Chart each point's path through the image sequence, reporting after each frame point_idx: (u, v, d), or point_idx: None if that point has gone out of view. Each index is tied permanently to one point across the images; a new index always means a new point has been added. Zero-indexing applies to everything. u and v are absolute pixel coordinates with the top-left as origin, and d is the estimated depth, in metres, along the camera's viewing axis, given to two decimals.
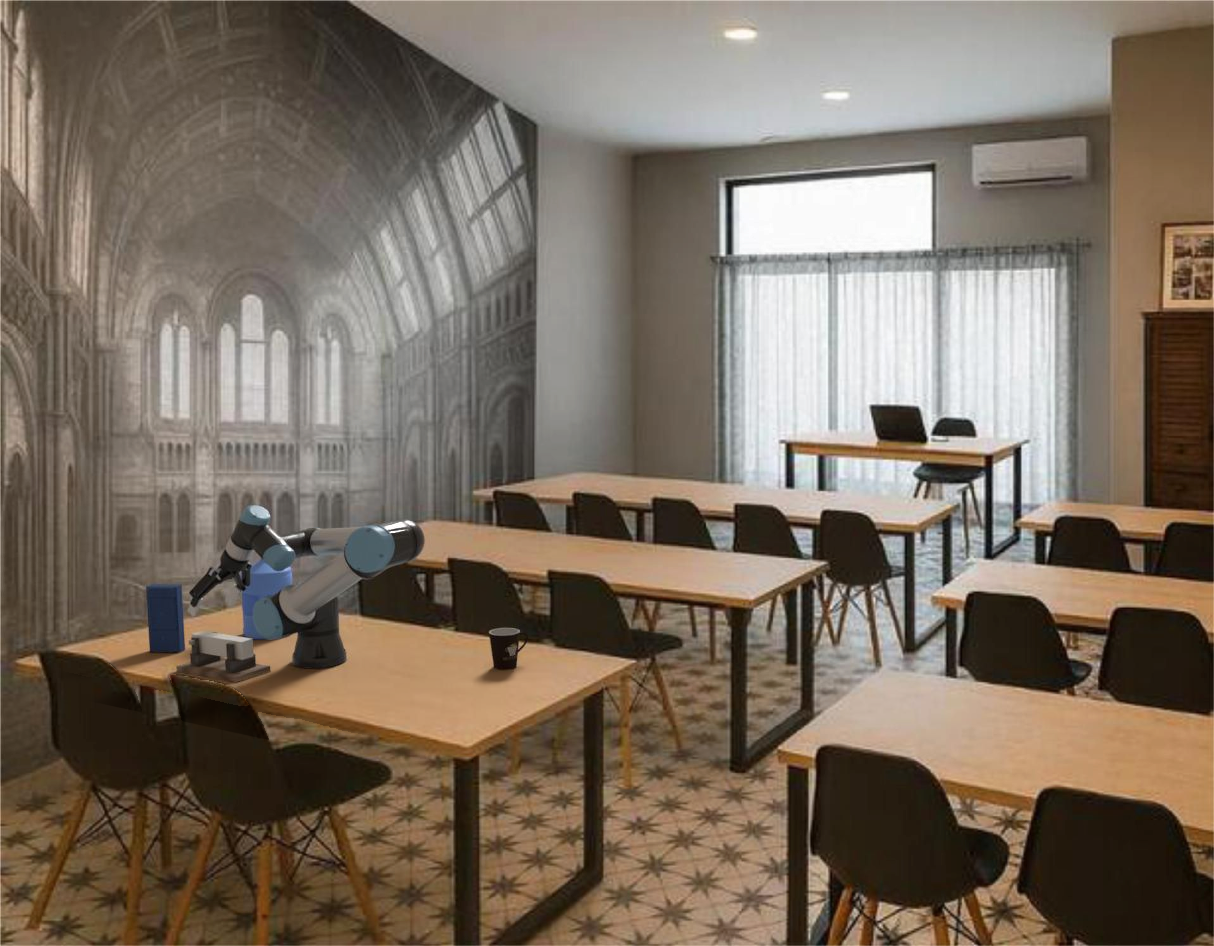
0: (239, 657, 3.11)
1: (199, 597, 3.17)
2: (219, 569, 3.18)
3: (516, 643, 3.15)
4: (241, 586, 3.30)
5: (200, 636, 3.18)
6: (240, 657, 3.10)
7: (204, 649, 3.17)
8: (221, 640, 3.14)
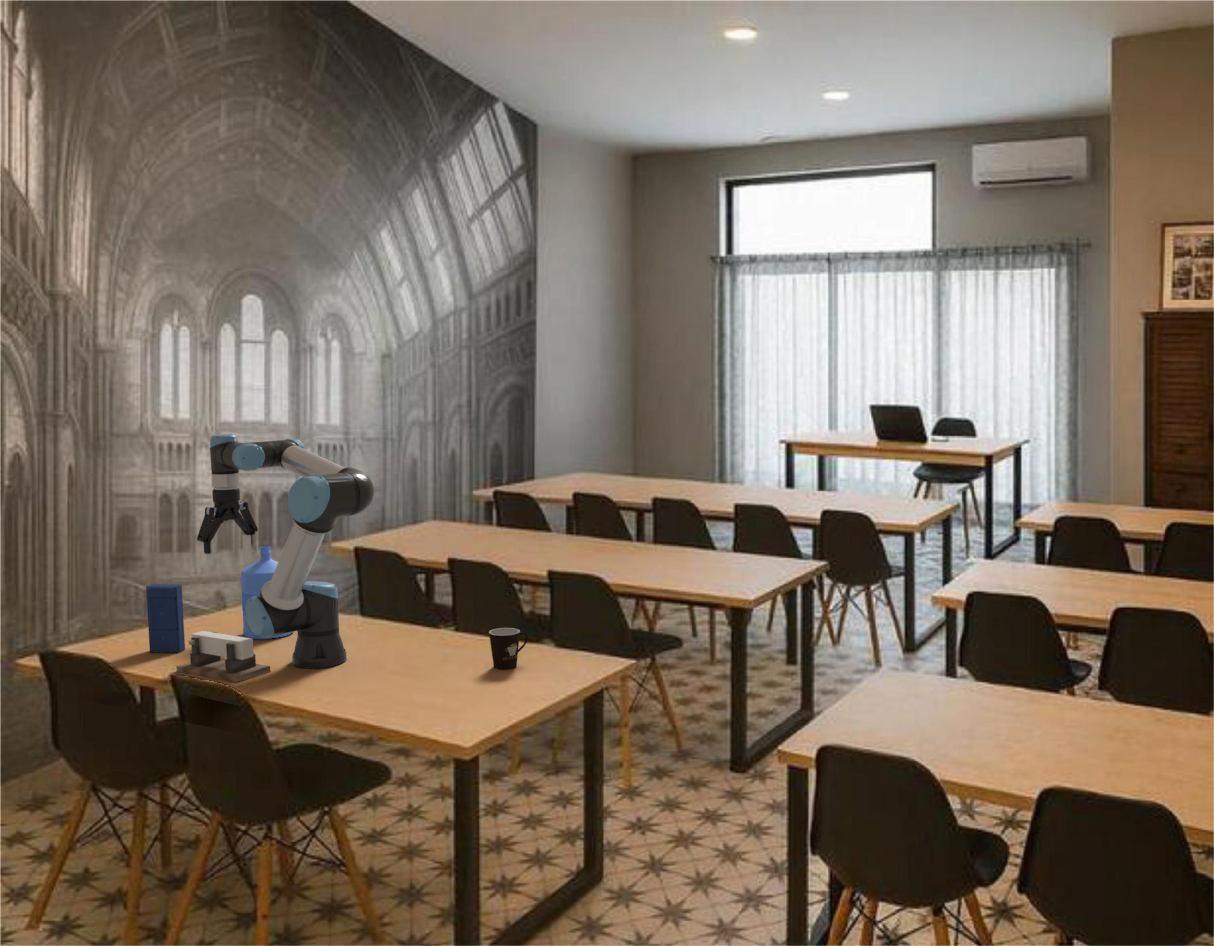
0: (239, 657, 3.11)
1: (208, 539, 3.20)
2: (215, 507, 3.23)
3: (516, 643, 3.15)
4: (249, 530, 3.33)
5: (200, 636, 3.18)
6: (240, 657, 3.10)
7: (204, 649, 3.17)
8: (221, 640, 3.14)
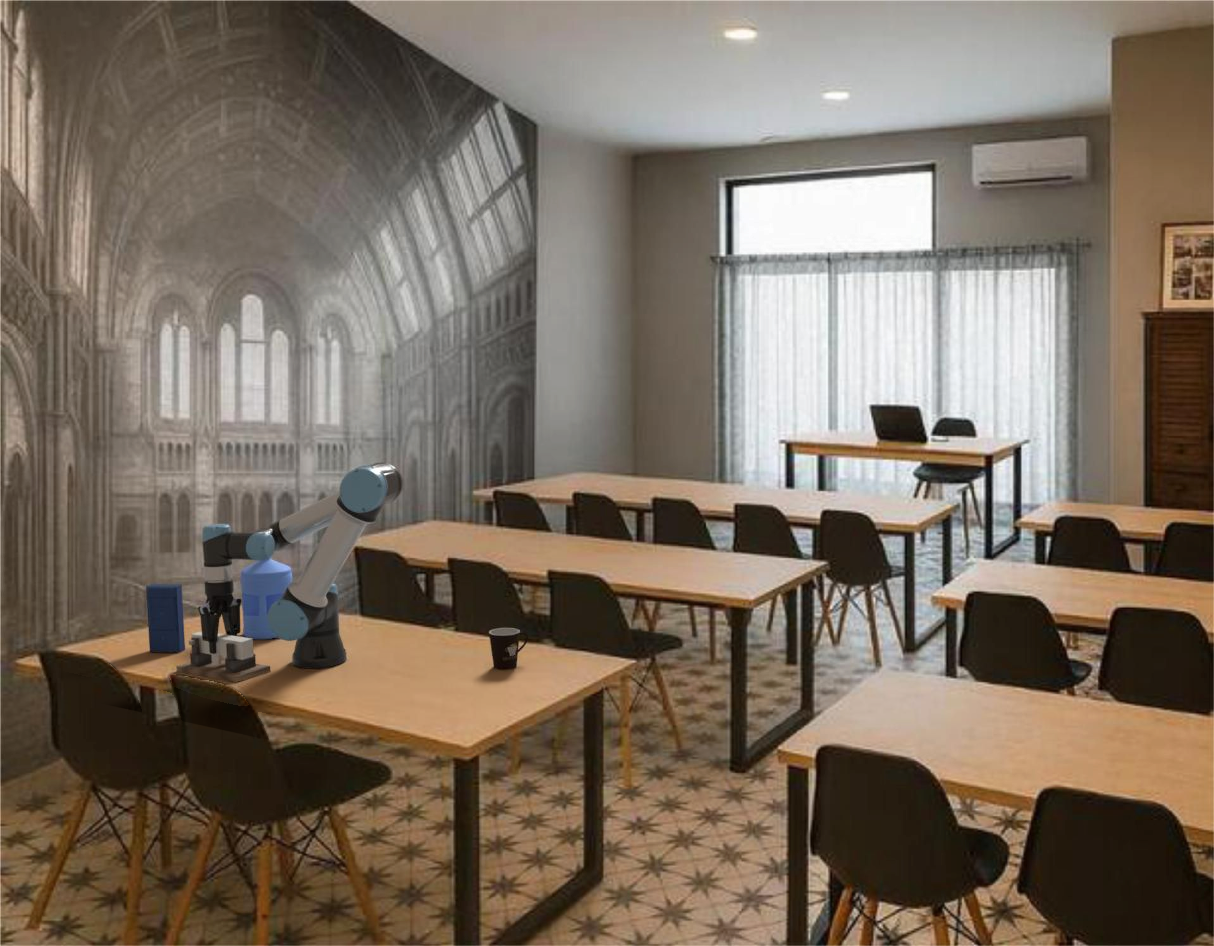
0: (239, 657, 3.11)
1: (213, 640, 3.12)
2: (207, 603, 3.11)
3: (516, 643, 3.15)
4: (232, 631, 3.18)
5: (200, 636, 3.18)
6: (240, 657, 3.10)
7: (204, 649, 3.17)
8: (221, 640, 3.14)
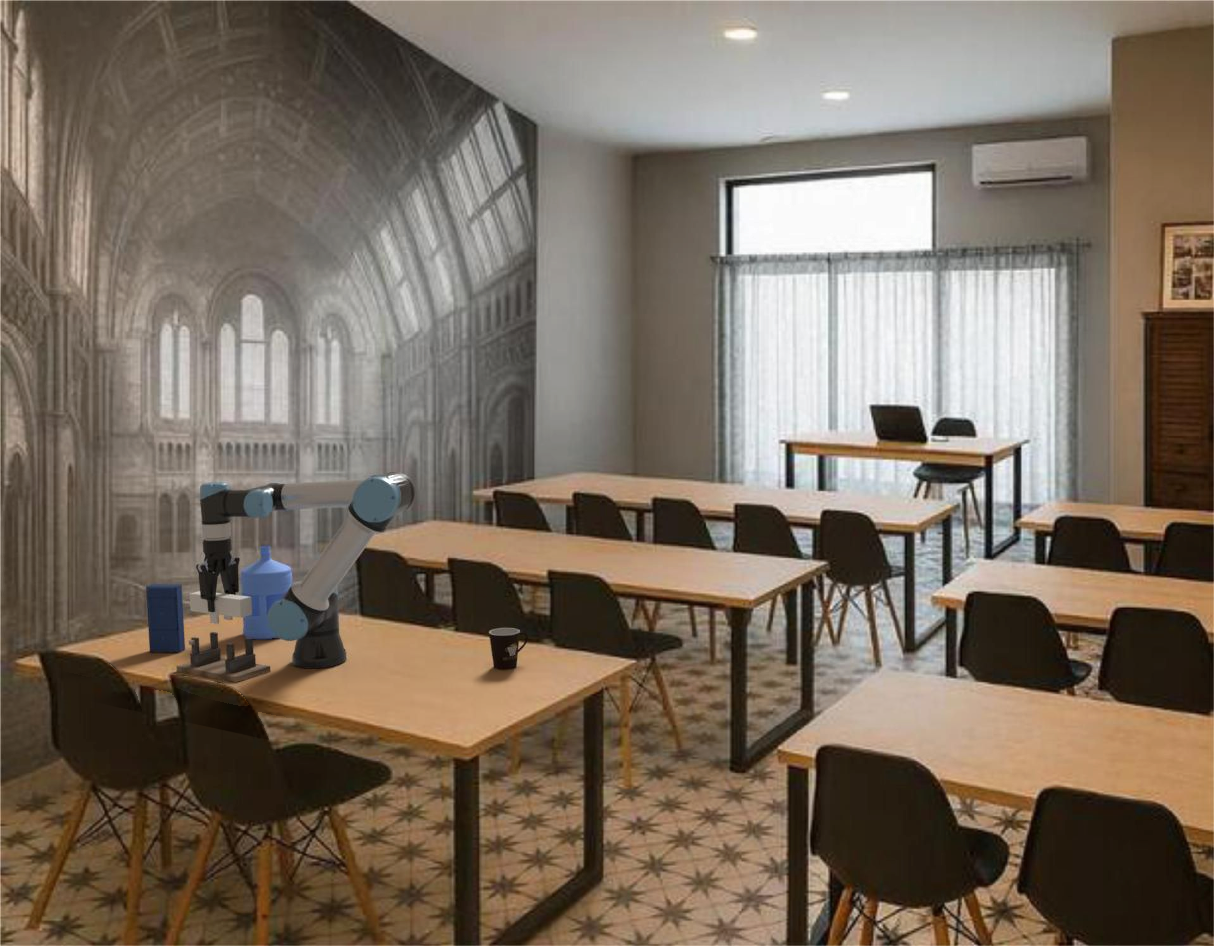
0: (238, 615, 3.09)
1: (212, 598, 3.11)
2: (205, 561, 3.10)
3: (516, 643, 3.15)
4: (231, 590, 3.17)
5: (198, 595, 3.16)
6: (238, 615, 3.09)
7: (202, 608, 3.16)
8: (219, 598, 3.12)
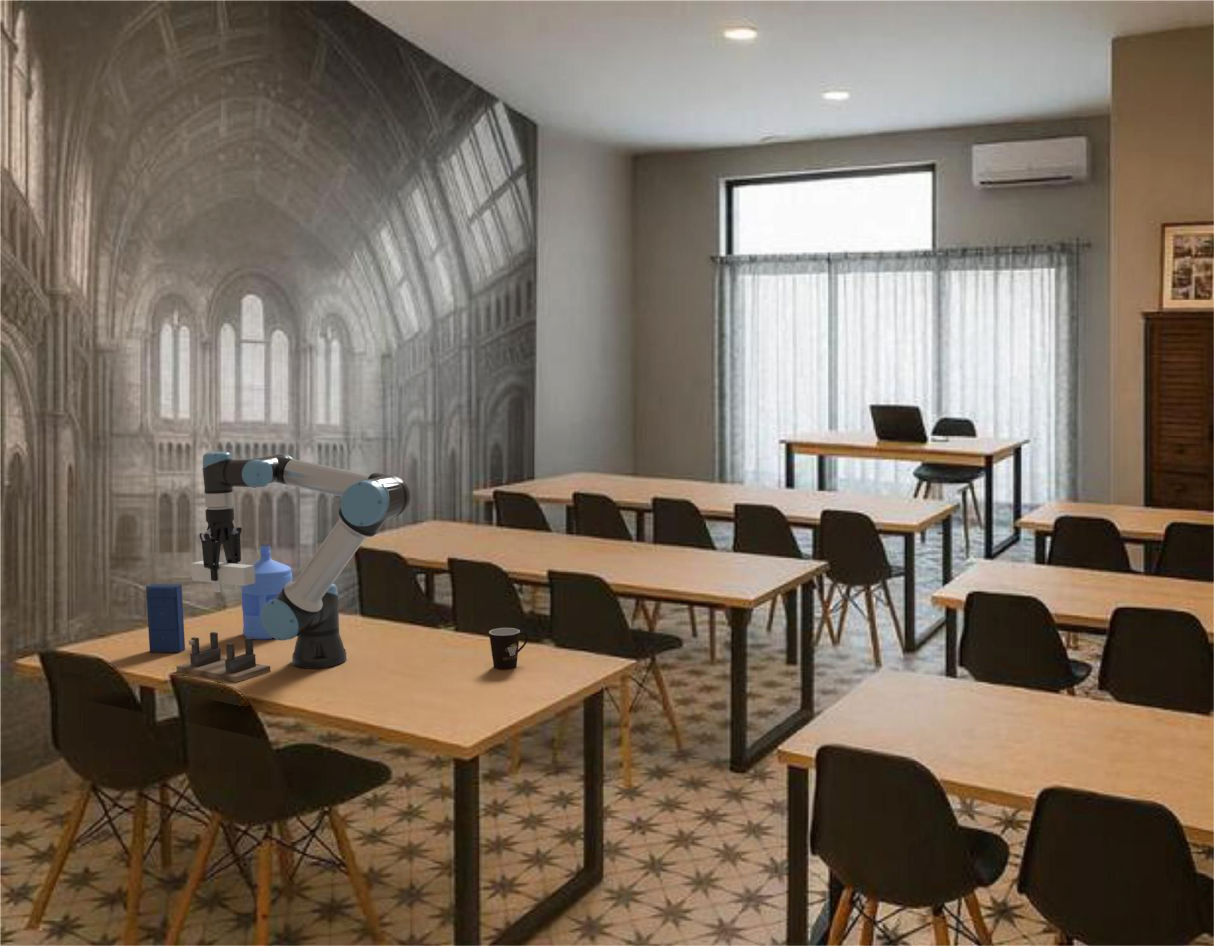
0: (241, 583, 3.12)
1: (215, 567, 3.13)
2: (208, 530, 3.12)
3: (516, 643, 3.15)
4: (233, 559, 3.19)
5: (201, 564, 3.18)
6: (242, 583, 3.11)
7: (204, 577, 3.18)
8: (222, 567, 3.14)
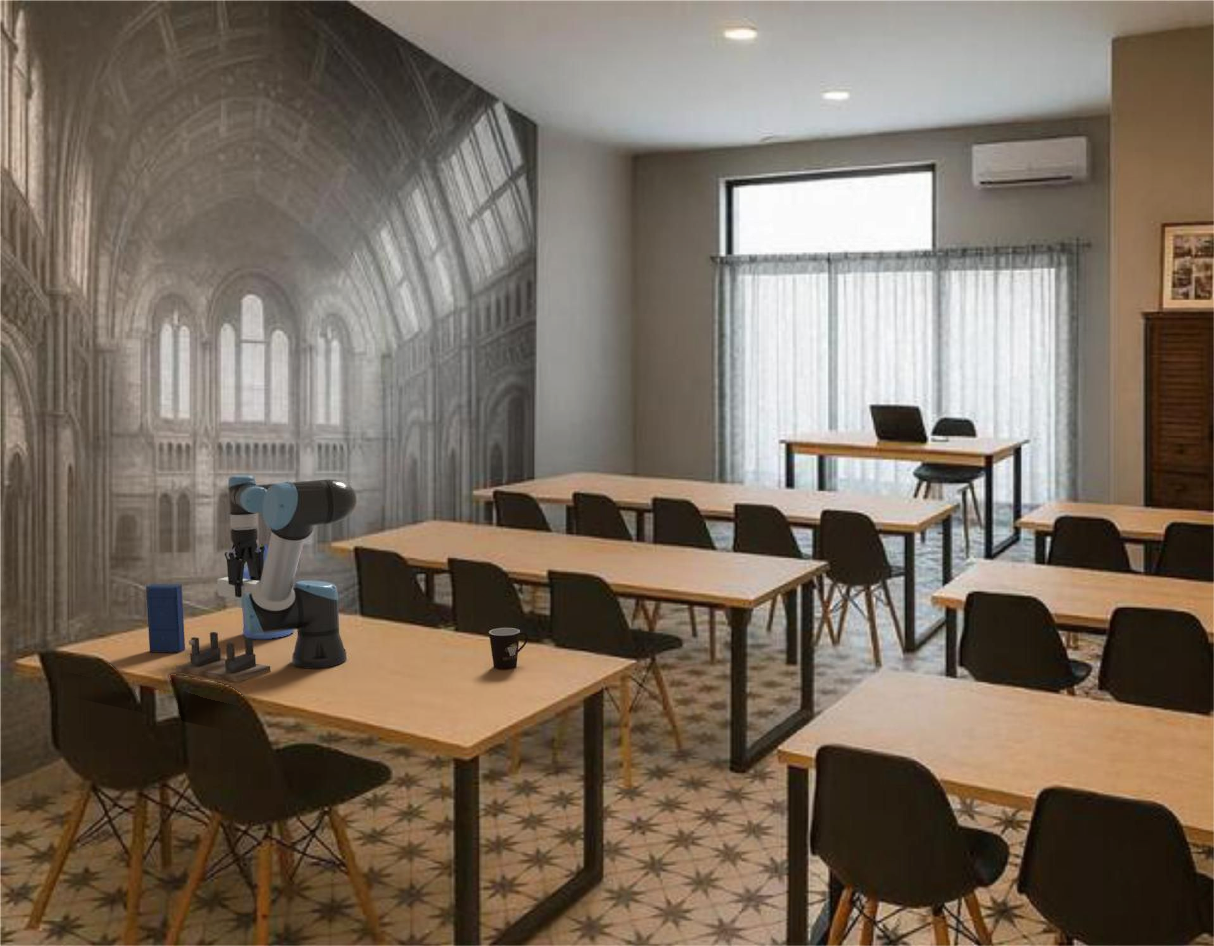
0: None
1: (239, 584, 3.31)
2: (233, 549, 3.30)
3: (516, 643, 3.15)
4: (256, 576, 3.37)
5: (226, 581, 3.37)
6: None
7: (229, 593, 3.36)
8: (246, 584, 3.33)
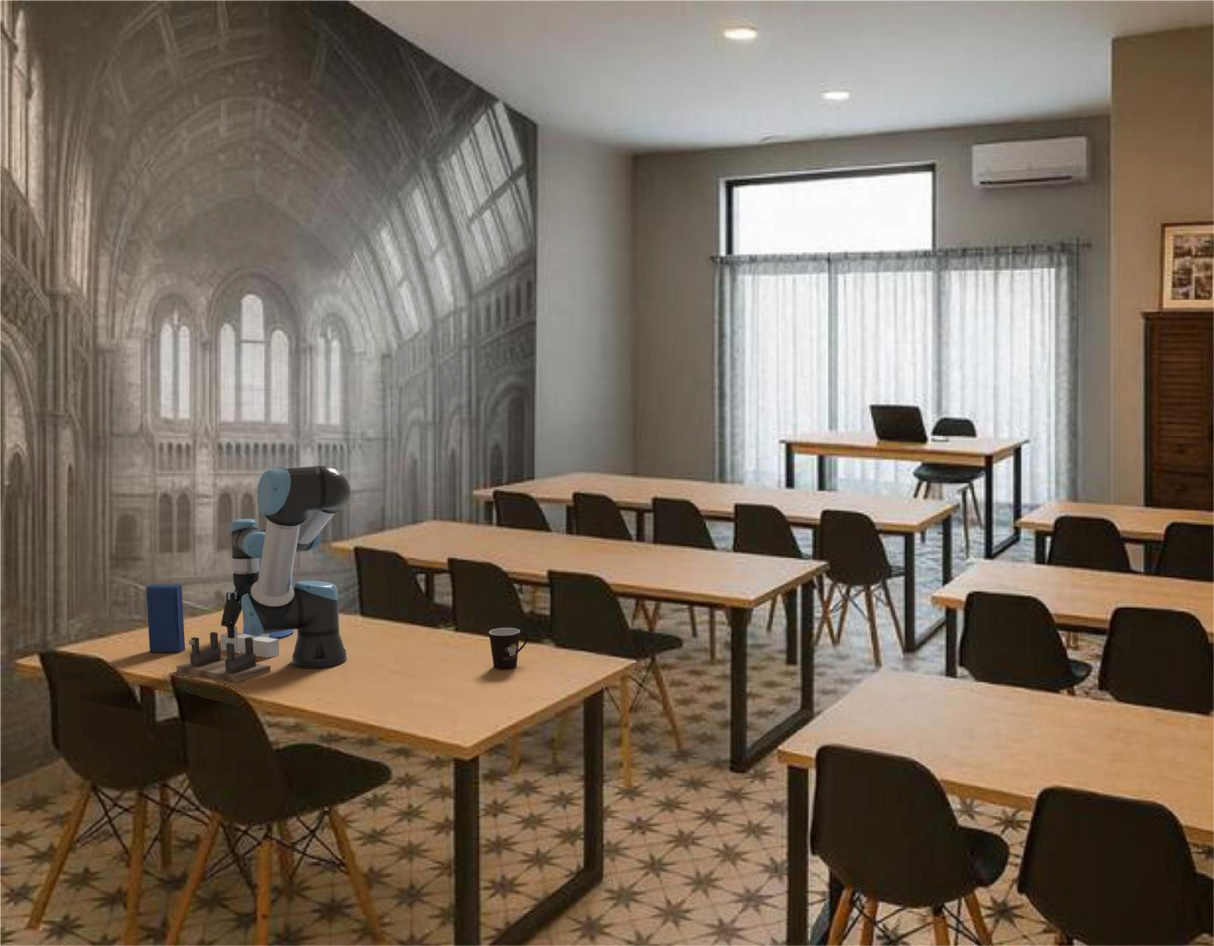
0: (266, 656, 3.31)
1: (232, 624, 3.29)
2: (235, 591, 3.32)
3: (516, 643, 3.15)
4: None
5: None
6: (267, 656, 3.31)
7: None
8: None
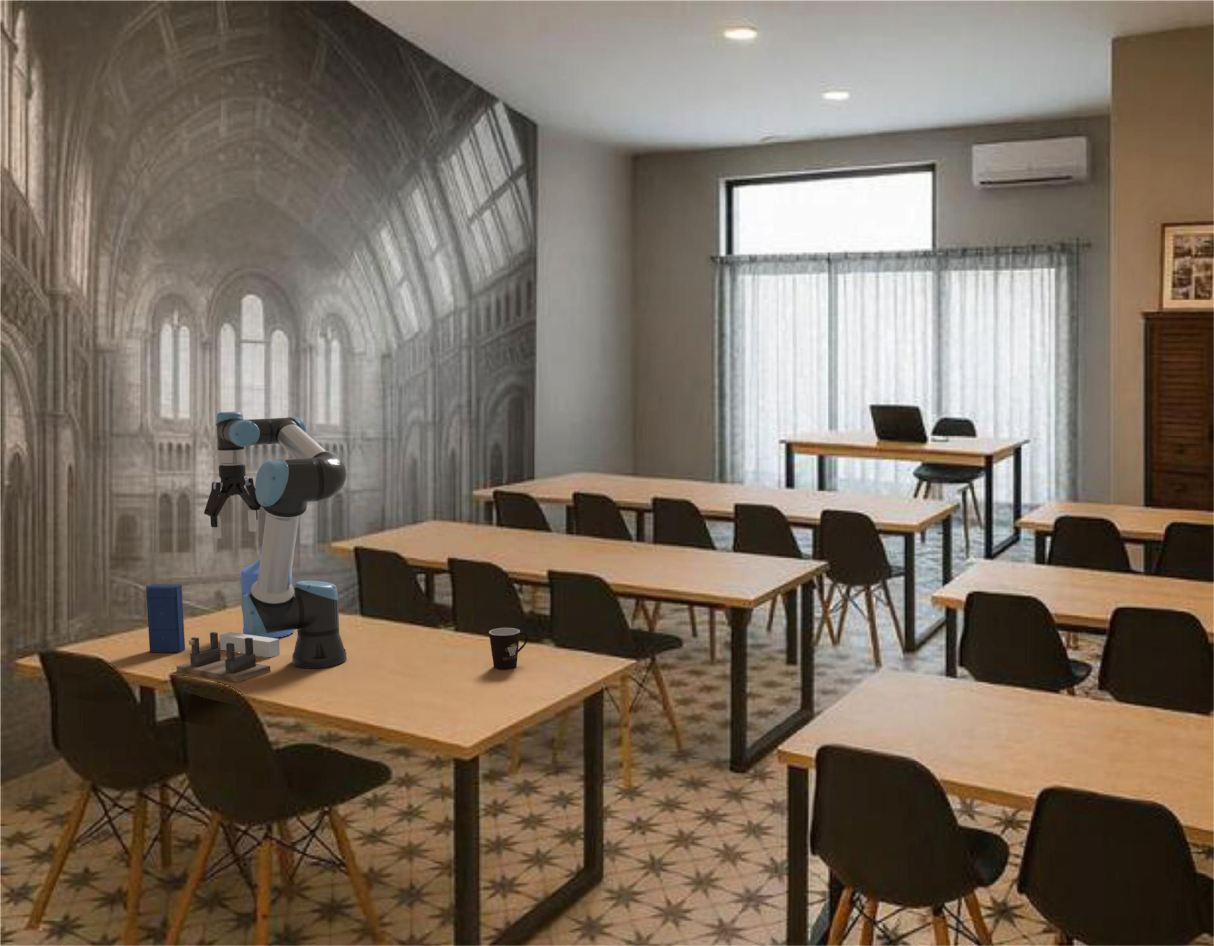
0: (267, 656, 3.31)
1: (215, 513, 3.30)
2: (221, 482, 3.33)
3: (516, 643, 3.15)
4: (254, 505, 3.43)
5: (228, 637, 3.38)
6: (268, 656, 3.31)
7: None
8: None
